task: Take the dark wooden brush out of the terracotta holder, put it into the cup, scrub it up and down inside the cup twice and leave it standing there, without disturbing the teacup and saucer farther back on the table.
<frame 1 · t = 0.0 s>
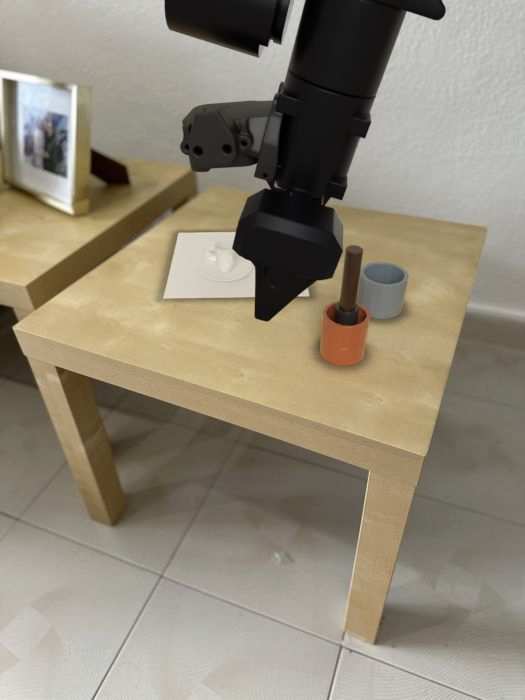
hand: (268, 286, 41), 16 cm above the table, tool pointing down, fingers open, 9 cm apart
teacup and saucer: (237, 262, 78), on the table
holder: (341, 351, 61), on the table
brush: (343, 335, 59), point 2 cm above the table, touching holder
cup: (378, 306, 68), on the table
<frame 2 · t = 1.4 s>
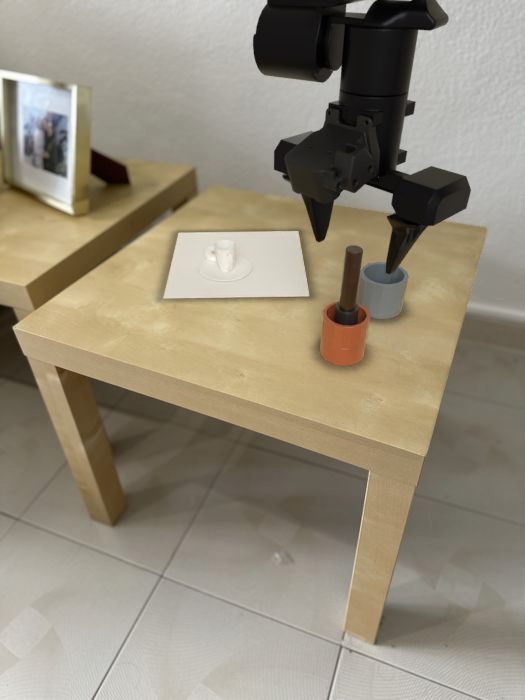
hand: (353, 256, 52), 13 cm above the table, tool pointing down, fingers open, 9 cm apart
nothing on the table moved.
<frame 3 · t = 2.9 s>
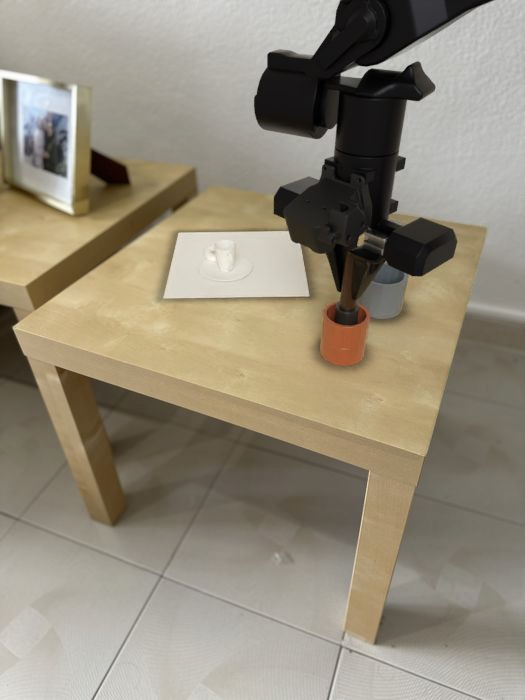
hand: (348, 294, 55), 8 cm above the table, tool pointing down, fingers closed on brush, 2 cm apart
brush: (343, 335, 59), point 3 cm above the table, touching gripper, holder
everything else where it was.
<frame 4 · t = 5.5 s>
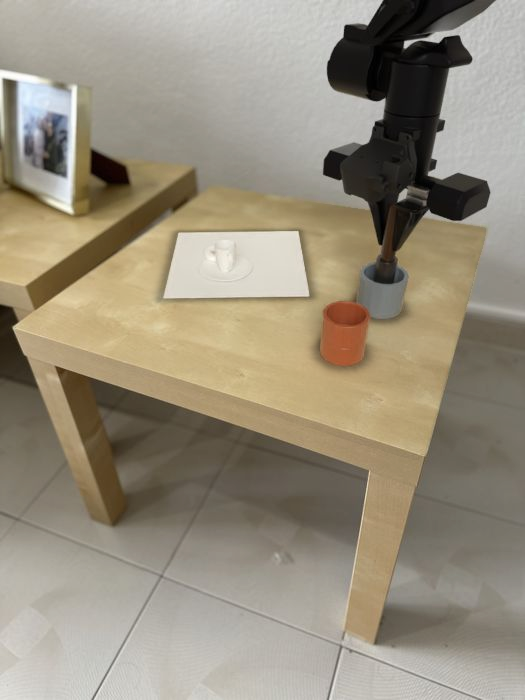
hand: (389, 247, 63), 9 cm above the table, tool pointing down, fingers closed on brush, 2 cm apart
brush: (382, 285, 66), point 3 cm above the table, touching gripper
everything else where it was.
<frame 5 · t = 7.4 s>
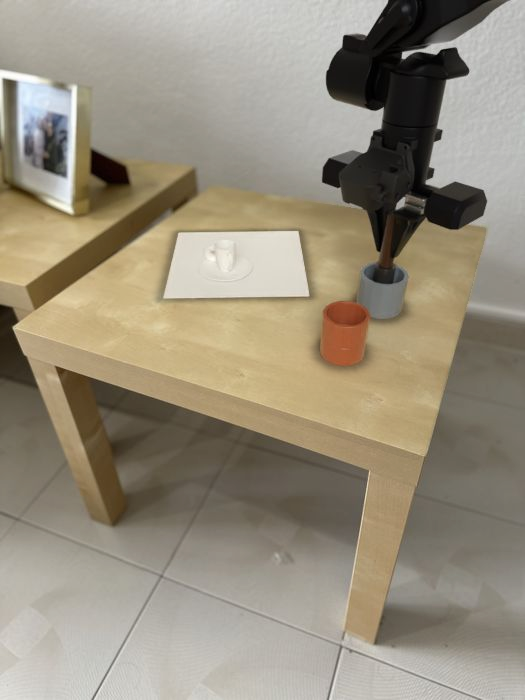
hand: (387, 254, 63), 8 cm above the table, tool pointing down, fingers closed on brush, 2 cm apart
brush: (380, 292, 67), point 2 cm above the table, touching gripper
everything else where it was.
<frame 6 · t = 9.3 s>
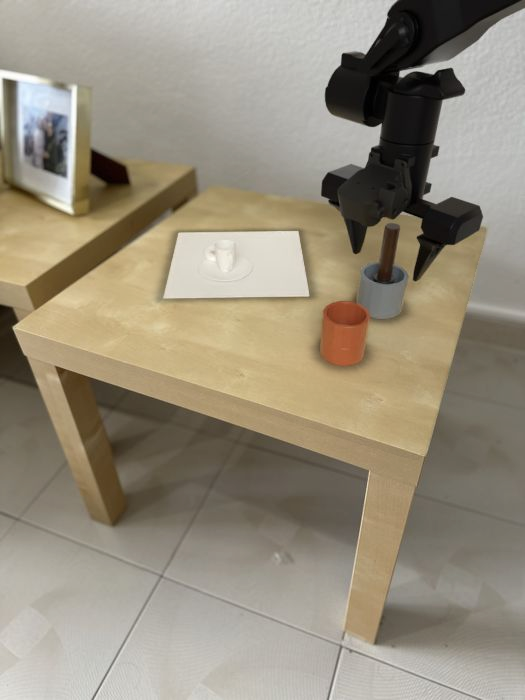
hand: (385, 266, 64), 6 cm above the table, tool pointing down, fingers open, 9 cm apart
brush: (379, 303, 68), resting on cup
everything else where it was.
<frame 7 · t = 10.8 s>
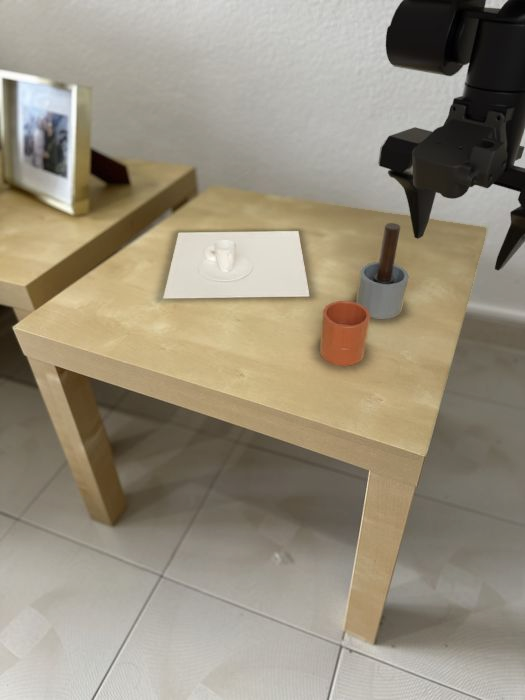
hand: (456, 252, 53), 13 cm above the table, tool pointing down, fingers open, 9 cm apart
nothing on the table moved.
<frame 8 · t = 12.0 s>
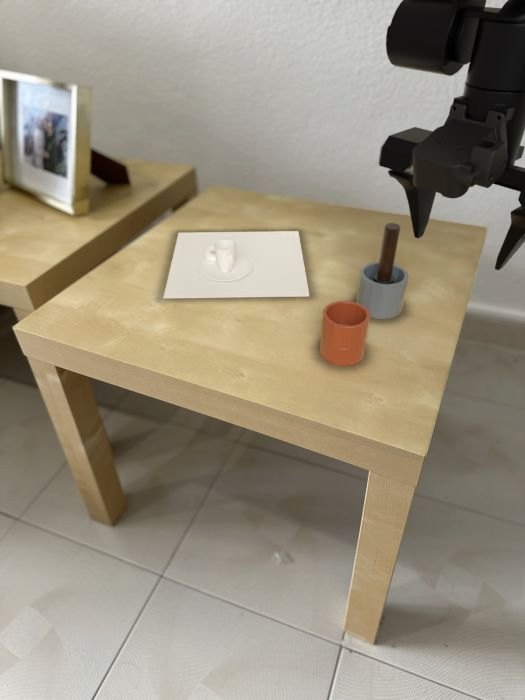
hand: (456, 252, 53), 13 cm above the table, tool pointing down, fingers open, 9 cm apart
nothing on the table moved.
at the end: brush 0.1 cm off-centre in the cup, point 0.5 cm above the cup's base; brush tilted 0°; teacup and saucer moved 0.2 cm from its start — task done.
